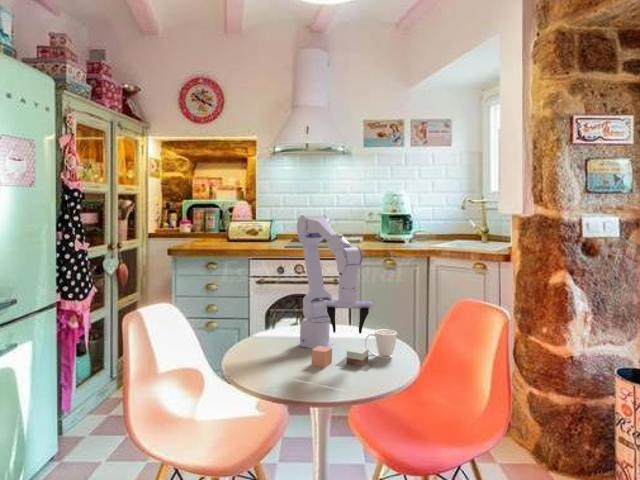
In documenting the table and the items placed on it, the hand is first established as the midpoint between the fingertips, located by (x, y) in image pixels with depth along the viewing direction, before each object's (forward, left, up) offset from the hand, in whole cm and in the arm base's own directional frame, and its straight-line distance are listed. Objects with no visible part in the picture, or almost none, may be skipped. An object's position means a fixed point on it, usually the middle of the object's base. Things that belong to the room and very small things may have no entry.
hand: (347, 332), depth 143 cm
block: (-6, -5, -10) cm, 12 cm away
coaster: (+3, +1, -10) cm, 10 cm away
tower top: (+3, +1, -7) cm, 8 cm away
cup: (+7, +11, -10) cm, 16 cm away
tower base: (+3, +1, -9) cm, 10 cm away
